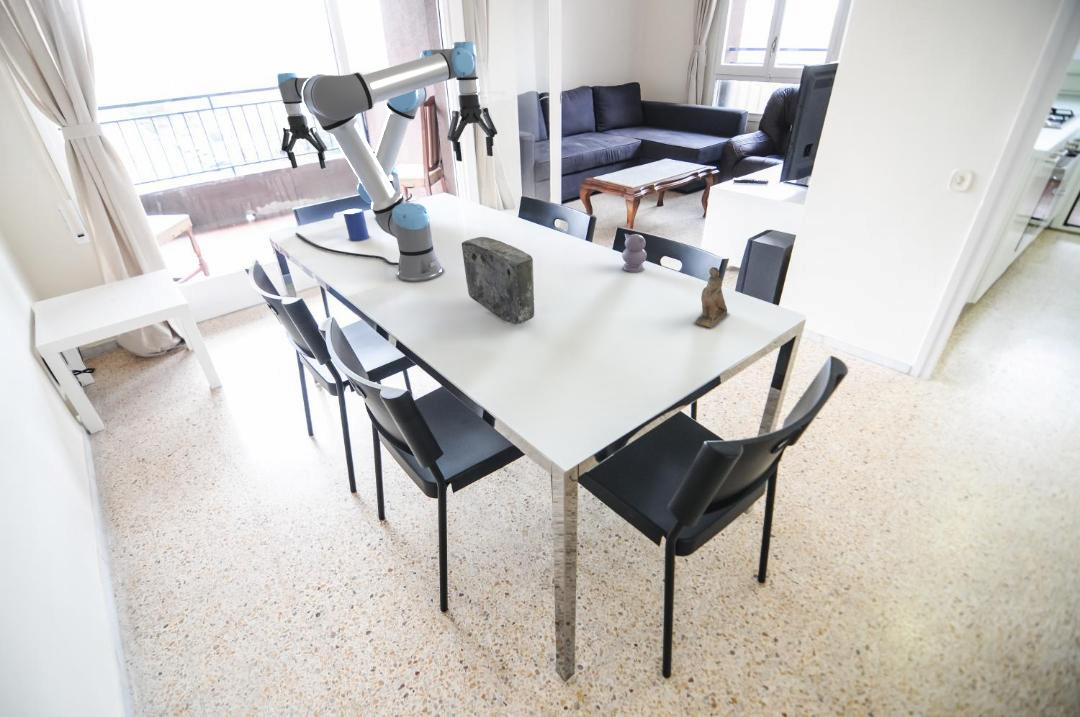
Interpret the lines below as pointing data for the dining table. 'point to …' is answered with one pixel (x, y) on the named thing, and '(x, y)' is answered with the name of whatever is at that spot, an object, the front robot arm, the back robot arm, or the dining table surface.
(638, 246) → the cat figurine
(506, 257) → the concrete block
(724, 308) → the brown carved statuette
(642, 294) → the dining table surface
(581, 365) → the dining table surface
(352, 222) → the canister
